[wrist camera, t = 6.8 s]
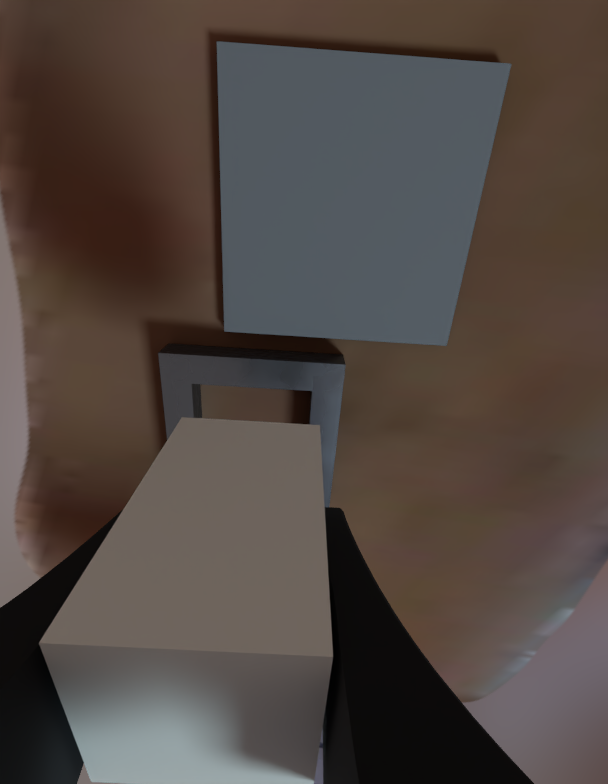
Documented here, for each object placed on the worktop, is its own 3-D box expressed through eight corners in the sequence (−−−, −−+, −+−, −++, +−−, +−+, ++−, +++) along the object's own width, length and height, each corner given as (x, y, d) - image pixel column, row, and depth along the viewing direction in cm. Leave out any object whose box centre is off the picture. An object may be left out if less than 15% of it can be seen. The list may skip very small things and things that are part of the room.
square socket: (327, 492, 23) (328, 509, 22) (181, 484, 23) (173, 501, 22) (342, 354, 20) (345, 364, 18) (168, 343, 19) (158, 352, 18)
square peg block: (310, 528, 14) (312, 790, 8) (191, 522, 14) (90, 782, 7) (319, 424, 12) (333, 656, 6) (181, 417, 12) (39, 642, 6)
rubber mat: (442, 342, 19) (446, 345, 19) (226, 328, 19) (224, 331, 18) (503, 69, 15) (511, 63, 14) (220, 48, 14) (216, 41, 14)
